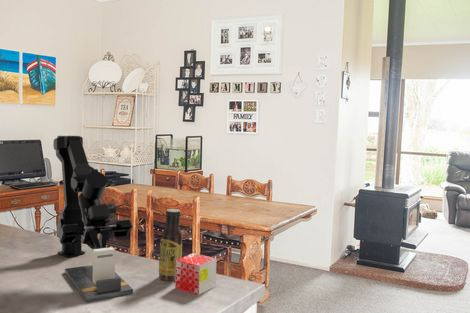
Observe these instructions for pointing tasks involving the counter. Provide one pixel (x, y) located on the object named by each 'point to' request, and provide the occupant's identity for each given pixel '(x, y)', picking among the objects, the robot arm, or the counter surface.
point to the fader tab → (103, 264)
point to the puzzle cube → (195, 273)
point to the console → (101, 289)
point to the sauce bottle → (170, 246)
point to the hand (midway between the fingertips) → (102, 258)
